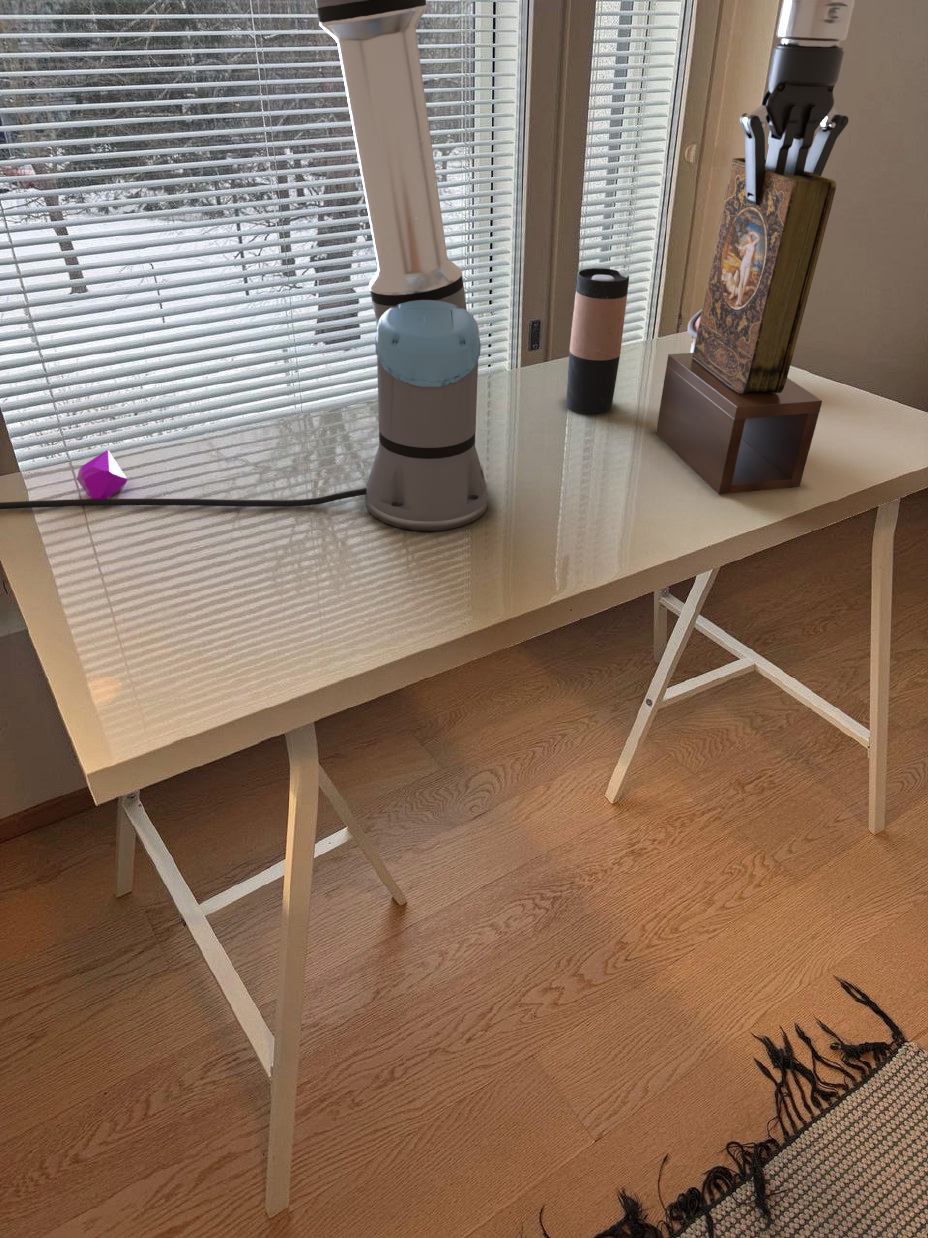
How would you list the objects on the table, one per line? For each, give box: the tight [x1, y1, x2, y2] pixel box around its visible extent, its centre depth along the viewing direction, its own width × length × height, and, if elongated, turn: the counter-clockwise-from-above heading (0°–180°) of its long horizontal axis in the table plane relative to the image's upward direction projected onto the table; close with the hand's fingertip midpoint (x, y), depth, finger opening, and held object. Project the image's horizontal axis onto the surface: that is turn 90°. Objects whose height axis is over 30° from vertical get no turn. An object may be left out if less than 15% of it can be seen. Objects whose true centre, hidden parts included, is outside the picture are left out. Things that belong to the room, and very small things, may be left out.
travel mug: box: [565, 267, 630, 416], centre depth 139 cm, size 8×8×20 cm
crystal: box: [76, 449, 128, 507], centre depth 114 cm, size 5×5×5 cm
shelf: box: [655, 352, 823, 495], centre depth 126 cm, size 12×20×12 cm, turn 14°
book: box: [692, 157, 837, 394], centre depth 116 cm, size 16×6×25 cm, turn 13°
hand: (764, 265), depth 115 cm, fingers closed
